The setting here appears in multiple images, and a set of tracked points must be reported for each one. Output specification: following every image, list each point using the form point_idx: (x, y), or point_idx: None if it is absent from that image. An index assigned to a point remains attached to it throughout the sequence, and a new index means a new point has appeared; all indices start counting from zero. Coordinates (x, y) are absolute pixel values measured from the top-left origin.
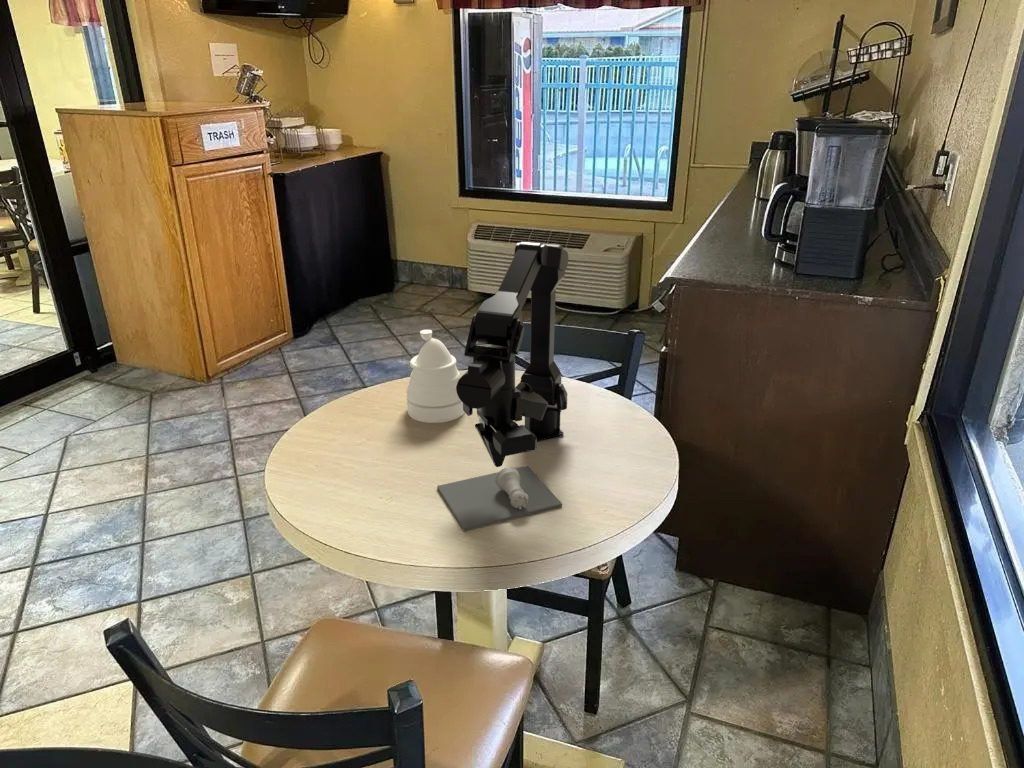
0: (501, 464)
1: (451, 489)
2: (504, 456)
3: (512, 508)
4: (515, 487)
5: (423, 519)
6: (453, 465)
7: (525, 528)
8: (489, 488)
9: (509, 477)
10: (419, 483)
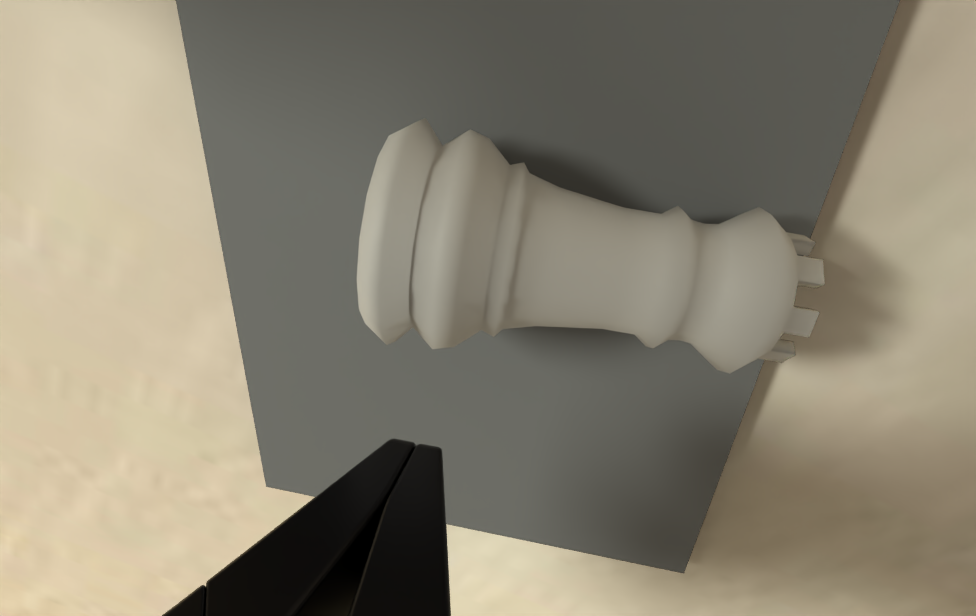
0: (442, 470)
1: (320, 456)
2: (445, 564)
3: None
4: (645, 308)
5: (491, 609)
6: (62, 313)
7: (927, 317)
8: None
9: (504, 306)
10: (208, 502)
